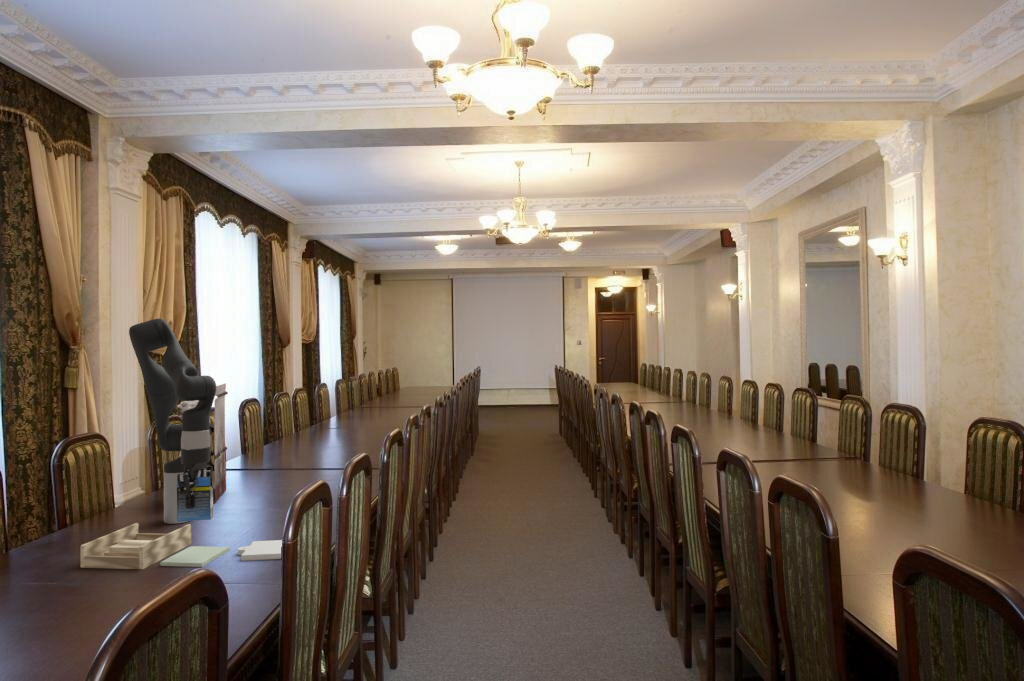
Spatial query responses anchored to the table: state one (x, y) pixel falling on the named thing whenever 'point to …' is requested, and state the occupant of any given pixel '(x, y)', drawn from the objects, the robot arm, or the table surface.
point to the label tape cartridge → (196, 502)
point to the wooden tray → (147, 553)
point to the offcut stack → (126, 548)
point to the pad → (195, 556)
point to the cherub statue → (219, 439)
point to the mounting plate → (261, 550)
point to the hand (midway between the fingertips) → (195, 505)
